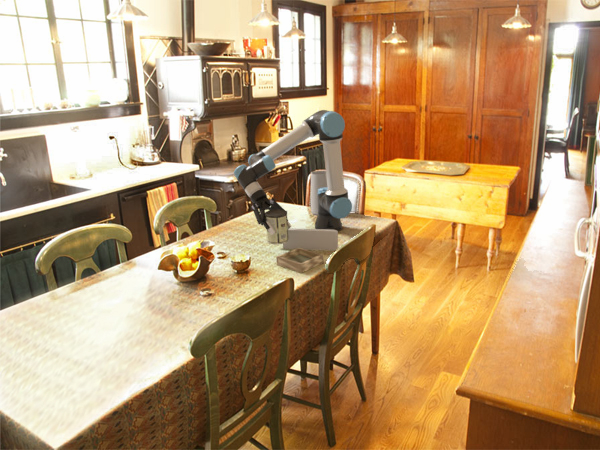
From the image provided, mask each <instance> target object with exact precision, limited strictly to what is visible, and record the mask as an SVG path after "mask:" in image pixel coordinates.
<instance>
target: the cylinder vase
mask: <svg viewBox="0 0 600 450" xmlns="http://www.w3.org/2000/svg"><path fill="white" fill-rule="evenodd" d="M324 187H327V178H326V170H314V171H311V172H310V205H311V208H310V209H311V211H310V212H311V214H313V215H315V216H318V195H317V194H318V189H320V188H324Z"/></svg>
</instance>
